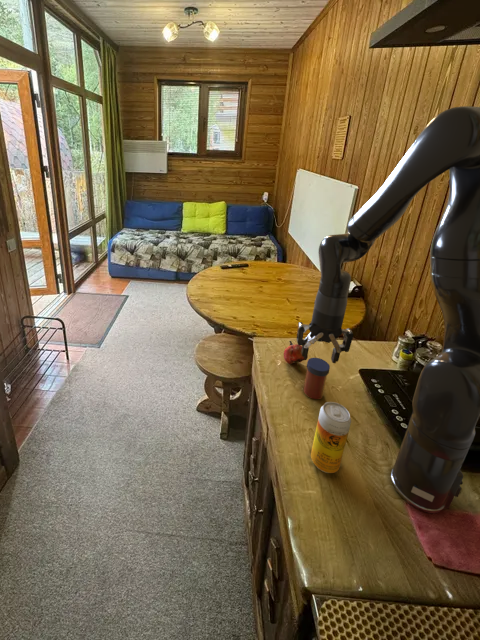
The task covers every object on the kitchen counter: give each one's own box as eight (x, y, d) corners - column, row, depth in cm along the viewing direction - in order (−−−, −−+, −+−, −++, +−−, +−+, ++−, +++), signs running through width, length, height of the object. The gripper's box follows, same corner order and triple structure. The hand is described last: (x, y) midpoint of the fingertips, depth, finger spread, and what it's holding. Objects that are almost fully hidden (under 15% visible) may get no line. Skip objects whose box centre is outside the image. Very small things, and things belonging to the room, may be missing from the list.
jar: (321, 387, 92) (326, 360, 89) (324, 400, 87) (330, 373, 84) (302, 384, 93) (307, 357, 90) (304, 397, 88) (309, 370, 85)
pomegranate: (308, 373, 101) (301, 343, 106) (314, 368, 95) (306, 336, 100) (285, 374, 101) (279, 344, 107) (290, 369, 95) (283, 338, 100)
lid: (326, 364, 90) (327, 359, 89) (330, 378, 84) (332, 372, 84) (305, 361, 91) (306, 356, 90) (308, 374, 85) (309, 369, 85)
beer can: (313, 473, 68) (325, 421, 62) (307, 448, 73) (317, 398, 68) (342, 477, 67) (356, 425, 62) (334, 451, 72) (346, 402, 67)
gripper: (303, 311, 79) (293, 364, 84) (363, 318, 76) (349, 372, 82) (299, 297, 85) (291, 347, 91) (354, 304, 83) (342, 354, 89)
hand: (319, 359), depth 86 cm, fingers open, 7 cm apart
